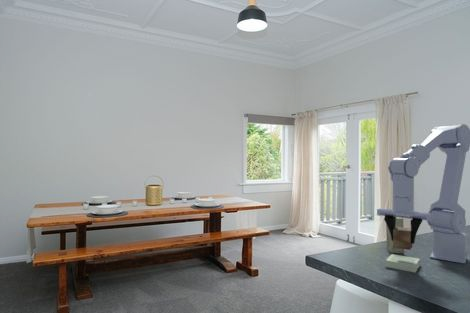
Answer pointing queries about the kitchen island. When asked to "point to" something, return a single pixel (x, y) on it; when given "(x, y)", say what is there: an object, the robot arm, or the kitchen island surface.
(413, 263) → the base slab
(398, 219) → the skincare box
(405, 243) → the walnut block
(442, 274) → the kitchen island surface
